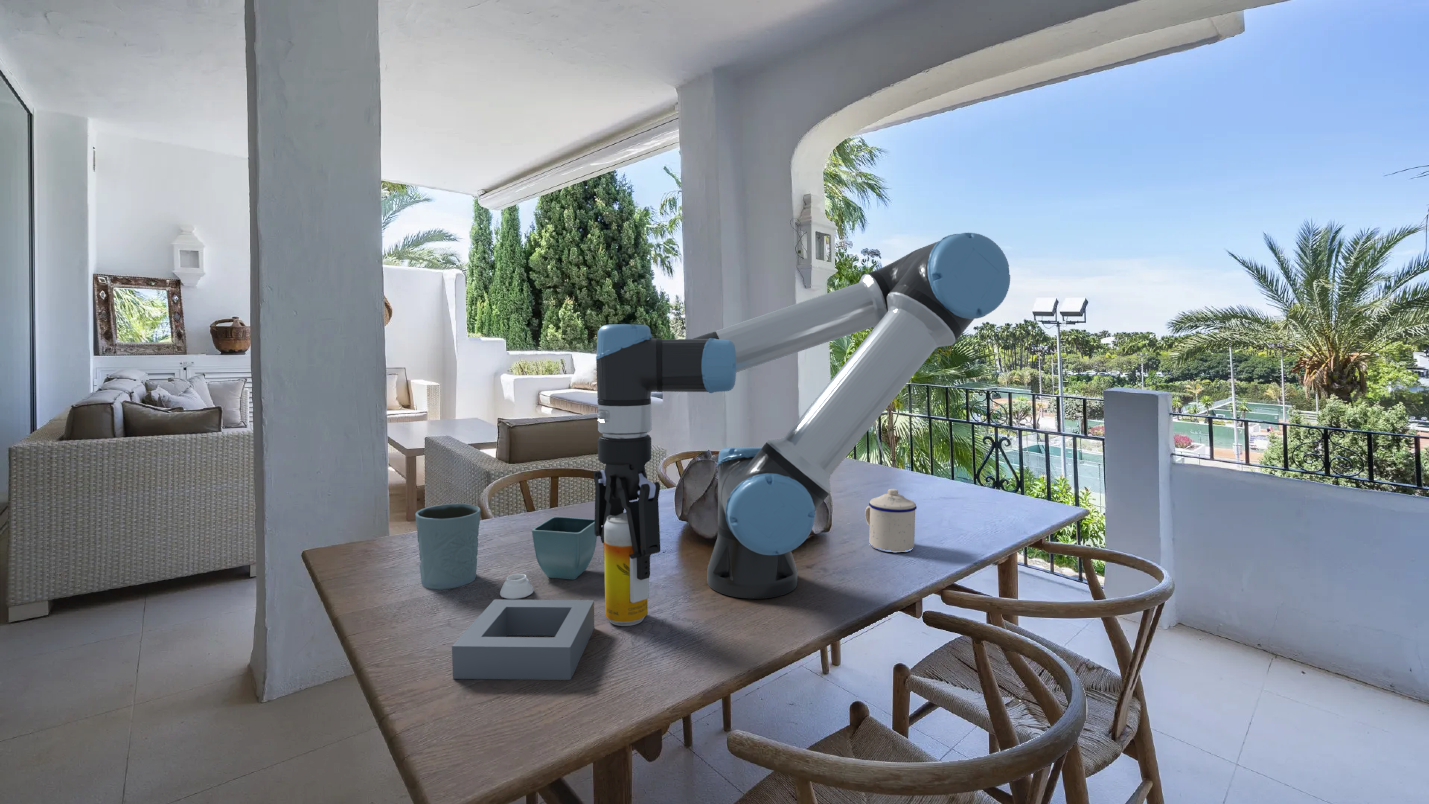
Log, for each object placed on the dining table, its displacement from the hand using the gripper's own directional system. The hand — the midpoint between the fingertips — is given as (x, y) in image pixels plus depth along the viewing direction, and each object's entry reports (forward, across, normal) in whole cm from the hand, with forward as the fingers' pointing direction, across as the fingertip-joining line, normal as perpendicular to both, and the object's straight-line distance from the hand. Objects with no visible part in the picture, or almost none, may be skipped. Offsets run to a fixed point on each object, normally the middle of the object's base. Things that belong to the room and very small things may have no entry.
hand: (626, 592), depth 91 cm
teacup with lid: (+4, +5, +59) cm, 59 cm away
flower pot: (+4, -22, +2) cm, 23 cm away
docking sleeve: (+4, 0, -15) cm, 15 cm away
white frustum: (+4, -20, -8) cm, 22 cm away
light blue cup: (+4, -33, -14) cm, 36 cm away
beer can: (+4, 0, 0) cm, 4 cm away
